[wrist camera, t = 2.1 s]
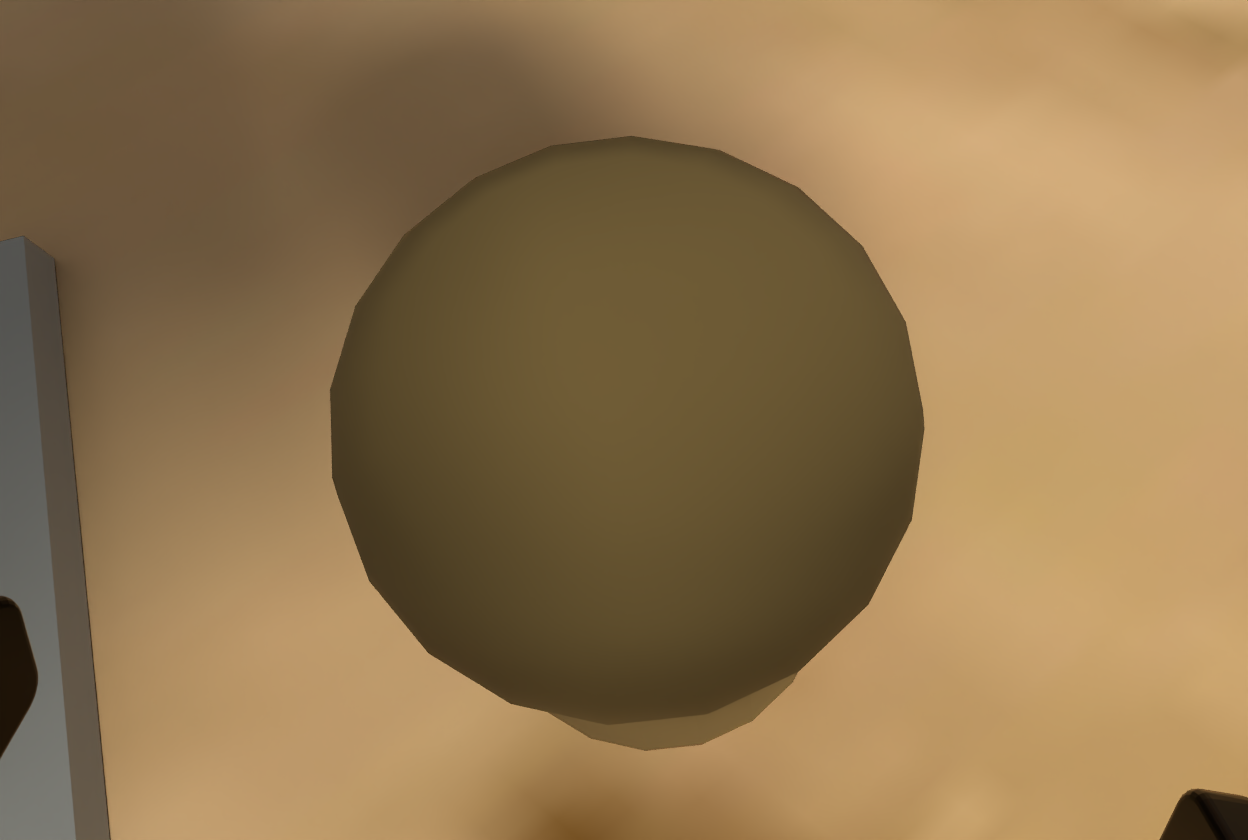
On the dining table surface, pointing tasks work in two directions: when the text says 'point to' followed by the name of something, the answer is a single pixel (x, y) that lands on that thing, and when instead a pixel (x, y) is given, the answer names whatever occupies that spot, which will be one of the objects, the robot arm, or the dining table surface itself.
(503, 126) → the dining table surface
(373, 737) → the dining table surface
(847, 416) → the cork
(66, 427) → the mount
